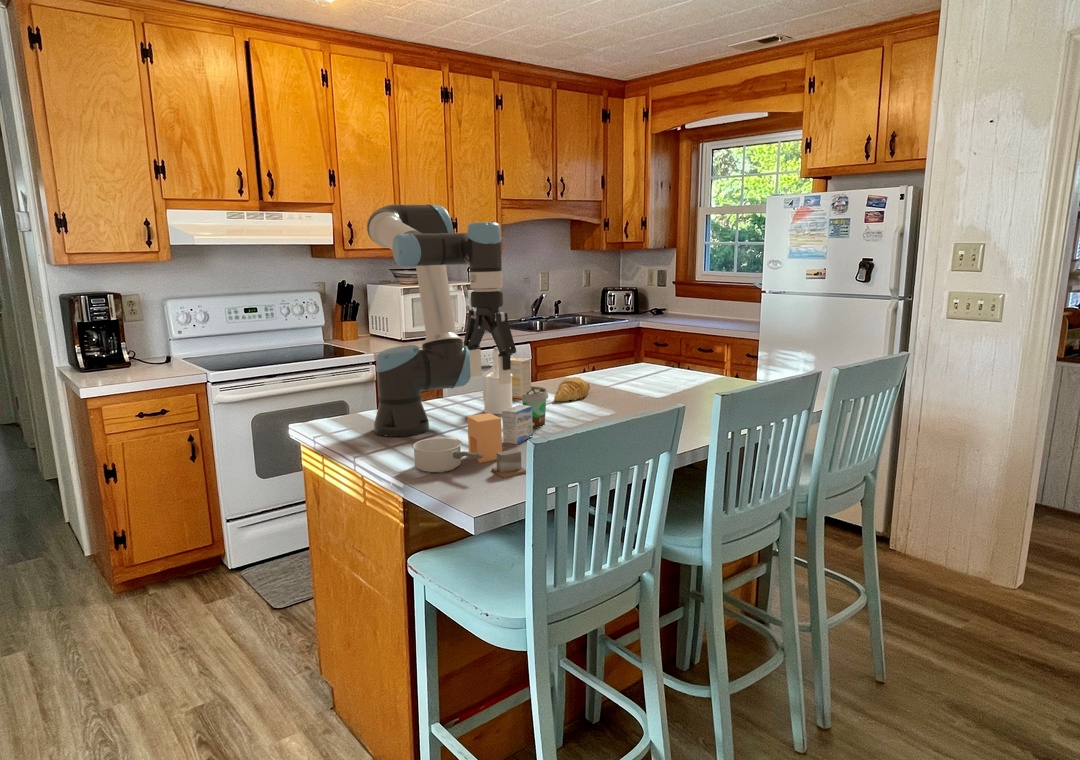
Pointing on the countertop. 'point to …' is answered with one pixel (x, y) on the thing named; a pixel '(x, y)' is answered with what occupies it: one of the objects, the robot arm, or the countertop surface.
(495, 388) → the white squeeze bottle
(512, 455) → the sponge on coaster
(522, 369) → the supplement box
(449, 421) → the countertop surface
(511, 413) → the medicine box
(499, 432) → the tall orange brick
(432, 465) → the saucepan
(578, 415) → the countertop surface
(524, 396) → the food container
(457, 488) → the countertop surface
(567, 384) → the croissant
